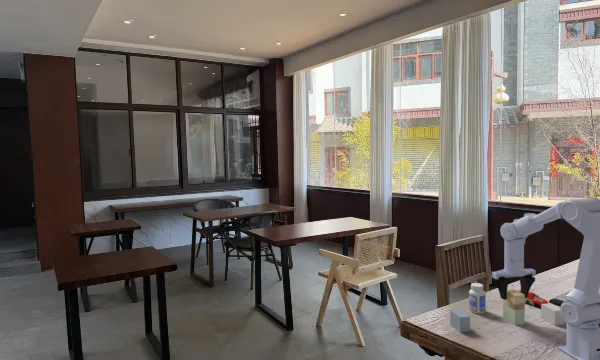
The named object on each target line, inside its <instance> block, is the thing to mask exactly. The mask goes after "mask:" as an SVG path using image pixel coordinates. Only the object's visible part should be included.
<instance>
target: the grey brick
mask: <svg viewBox="0 0 600 360" xmlns="http://www.w3.org/2000/svg"><path fill="white" fill-rule="evenodd" d="M540 310H541V312H540V319H542V320H543V321H545V322H547V323H549V324H551V325H553V326H554V327H555V326H557V327H558V326H565V320H564V318H563V317H562V315H561V312H560V307H559V306H557V305H555V304H553V303H551V302H548V304H541V308H540Z"/></svg>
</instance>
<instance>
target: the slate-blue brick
mask: <svg viewBox="0 0 600 360" xmlns="http://www.w3.org/2000/svg"><path fill="white" fill-rule="evenodd" d="M449 314H450V315H449V316H450V317H449V318H450V324H449V325H451V326H452V328H454V329H455V330H457V332H459V333H466V332H467V333H469V332H471V315H468V314H467V313H466V312H465V311H463V310H461V308H459V309H457V308H456V309H450V311H449Z"/></svg>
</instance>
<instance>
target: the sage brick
mask: <svg viewBox="0 0 600 360" xmlns="http://www.w3.org/2000/svg"><path fill="white" fill-rule="evenodd" d="M502 304H503V303H502ZM502 306H503V307H502V310H503V313H502V319H504V320H506V321H508V322H509V323H511V324H512V325H514V326H520V325H525V324H526V323H525V322H526V321H525V316H526V315H525V312H526V310H513V309H512V308H510V307H508V306H506V305H505V304H503V305H502Z"/></svg>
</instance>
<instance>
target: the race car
mask: <svg viewBox="0 0 600 360" xmlns="http://www.w3.org/2000/svg"><path fill="white" fill-rule="evenodd" d="M515 290H516V291H518V292H520V293H521V289H519V290H518V289H515ZM548 303H549V301H548V300H546V299H544V298H542V297H540V295H537V294H536V293H535V292H533V291H530V290H529V293H528V296H527V298H525V305H529V306H531V307H534V308H535V309H541V304H548Z"/></svg>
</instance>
